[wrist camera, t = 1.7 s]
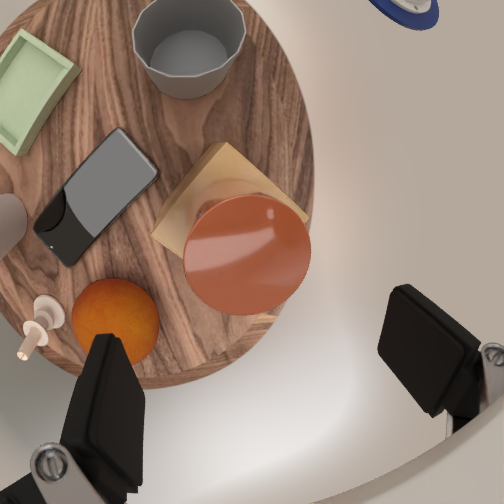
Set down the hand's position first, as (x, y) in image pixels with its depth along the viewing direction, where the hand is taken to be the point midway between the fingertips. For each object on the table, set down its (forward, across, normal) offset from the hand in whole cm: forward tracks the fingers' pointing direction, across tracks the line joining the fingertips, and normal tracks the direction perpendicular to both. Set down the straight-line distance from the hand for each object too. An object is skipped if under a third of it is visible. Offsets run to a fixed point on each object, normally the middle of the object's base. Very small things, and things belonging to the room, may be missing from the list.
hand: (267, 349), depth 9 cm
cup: (+24, +2, -16) cm, 28 cm away
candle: (+24, +24, +11) cm, 36 cm away
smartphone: (+24, +14, -2) cm, 27 cm away
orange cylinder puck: (+12, -1, -1) cm, 12 cm away
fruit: (+24, +13, +11) cm, 29 cm away
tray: (+24, +22, -17) cm, 36 cm away
